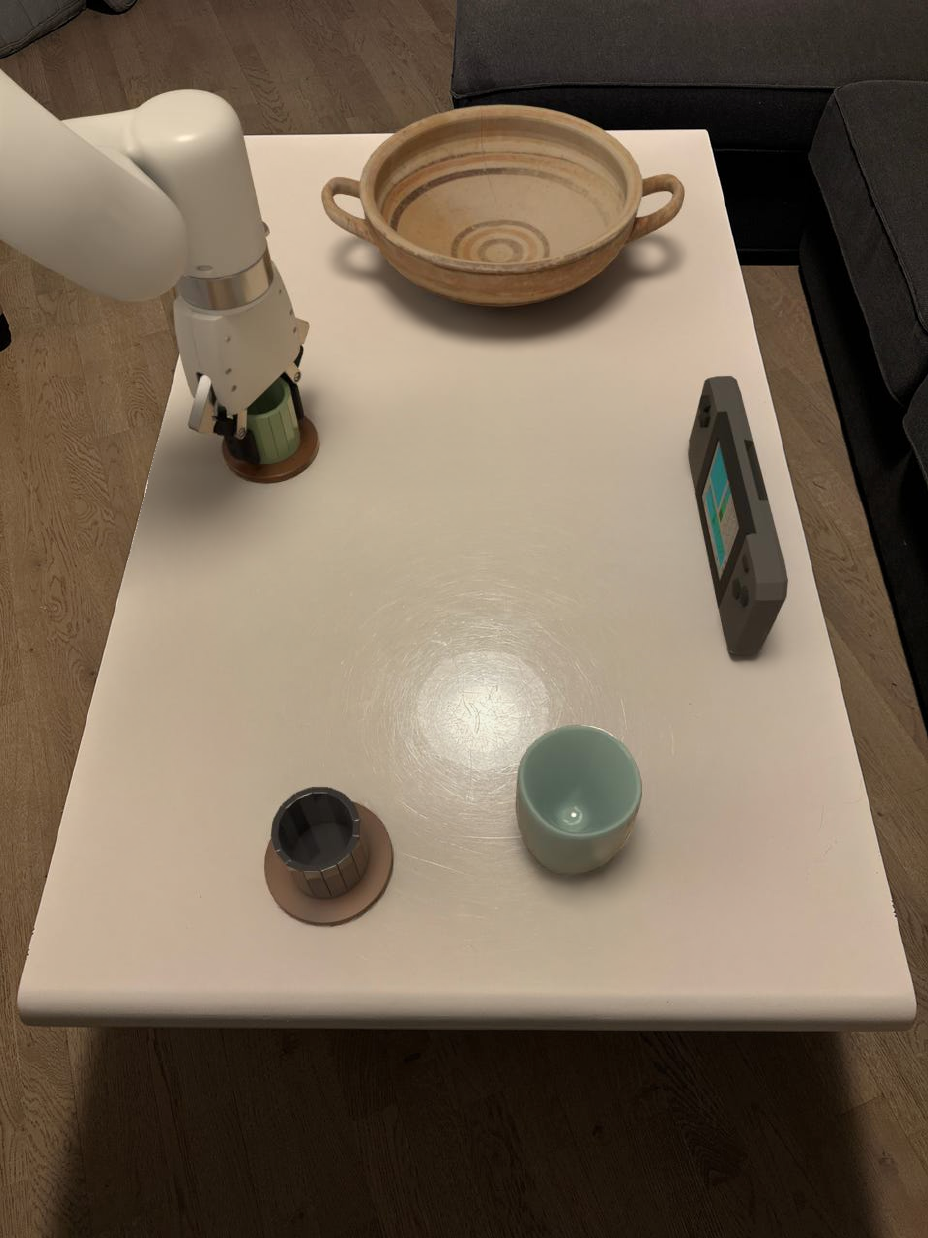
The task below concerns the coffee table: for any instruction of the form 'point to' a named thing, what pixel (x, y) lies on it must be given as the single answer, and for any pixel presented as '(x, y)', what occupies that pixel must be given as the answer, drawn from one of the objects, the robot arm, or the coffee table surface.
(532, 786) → the cup
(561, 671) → the coffee table surface
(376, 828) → the dark base
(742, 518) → the handheld gaming console
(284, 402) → the green grooved mug
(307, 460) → the brown dish
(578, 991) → the coffee table surface
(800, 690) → the coffee table surface
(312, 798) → the dark bucket
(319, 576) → the coffee table surface
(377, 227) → the ceramic bowl
